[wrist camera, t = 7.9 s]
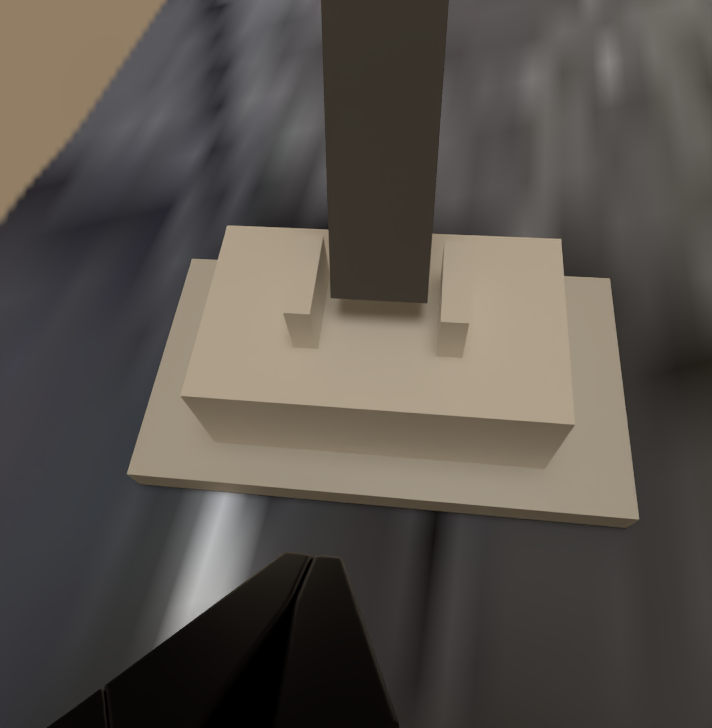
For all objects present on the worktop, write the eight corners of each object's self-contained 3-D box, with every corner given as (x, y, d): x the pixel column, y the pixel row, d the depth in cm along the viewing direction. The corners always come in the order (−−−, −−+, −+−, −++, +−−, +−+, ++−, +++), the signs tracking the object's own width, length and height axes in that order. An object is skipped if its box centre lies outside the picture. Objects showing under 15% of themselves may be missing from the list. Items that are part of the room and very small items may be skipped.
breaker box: (626, 527, 21) (727, 458, 14) (139, 484, 22) (39, 405, 16) (601, 295, 25) (668, 165, 19) (200, 275, 27) (140, 151, 21)
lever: (440, 308, 18) (479, -146, 12) (316, 301, 18) (295, -141, 12) (440, 280, 19) (474, -131, 14) (326, 274, 20) (312, -126, 14)
